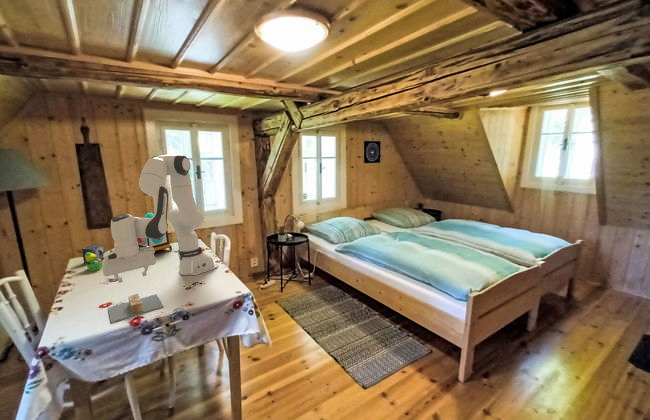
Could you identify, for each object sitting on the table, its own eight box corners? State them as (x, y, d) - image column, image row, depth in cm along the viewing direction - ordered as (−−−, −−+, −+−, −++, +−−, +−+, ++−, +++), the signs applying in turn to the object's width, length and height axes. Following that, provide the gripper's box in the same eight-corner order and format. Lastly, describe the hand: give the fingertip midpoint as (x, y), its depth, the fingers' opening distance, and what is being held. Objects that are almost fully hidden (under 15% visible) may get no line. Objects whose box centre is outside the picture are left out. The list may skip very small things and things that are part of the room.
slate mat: (156, 295, 147) (156, 294, 147) (163, 307, 135) (163, 306, 135) (108, 308, 135) (108, 307, 135) (111, 323, 123) (111, 322, 123)
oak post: (131, 305, 128) (127, 296, 137) (132, 314, 129) (129, 304, 138) (142, 302, 131) (137, 293, 140) (143, 310, 131) (139, 301, 140)
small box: (91, 264, 193) (88, 249, 192) (83, 263, 195) (80, 248, 193) (106, 258, 204) (103, 244, 202) (98, 258, 205) (96, 244, 203)
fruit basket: (101, 270, 182) (98, 253, 180) (84, 272, 179) (81, 255, 177) (107, 264, 192) (104, 248, 190) (91, 266, 189) (88, 250, 187)
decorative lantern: (147, 258, 202) (141, 216, 197) (133, 253, 213) (127, 213, 207) (175, 250, 219) (170, 211, 214) (160, 246, 229) (155, 209, 224)
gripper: (152, 243, 139) (156, 270, 142) (99, 254, 126) (105, 283, 129) (154, 246, 134) (159, 273, 137) (99, 258, 121) (106, 288, 124)
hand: (132, 278), depth 133 cm, fingers open, 8 cm apart
